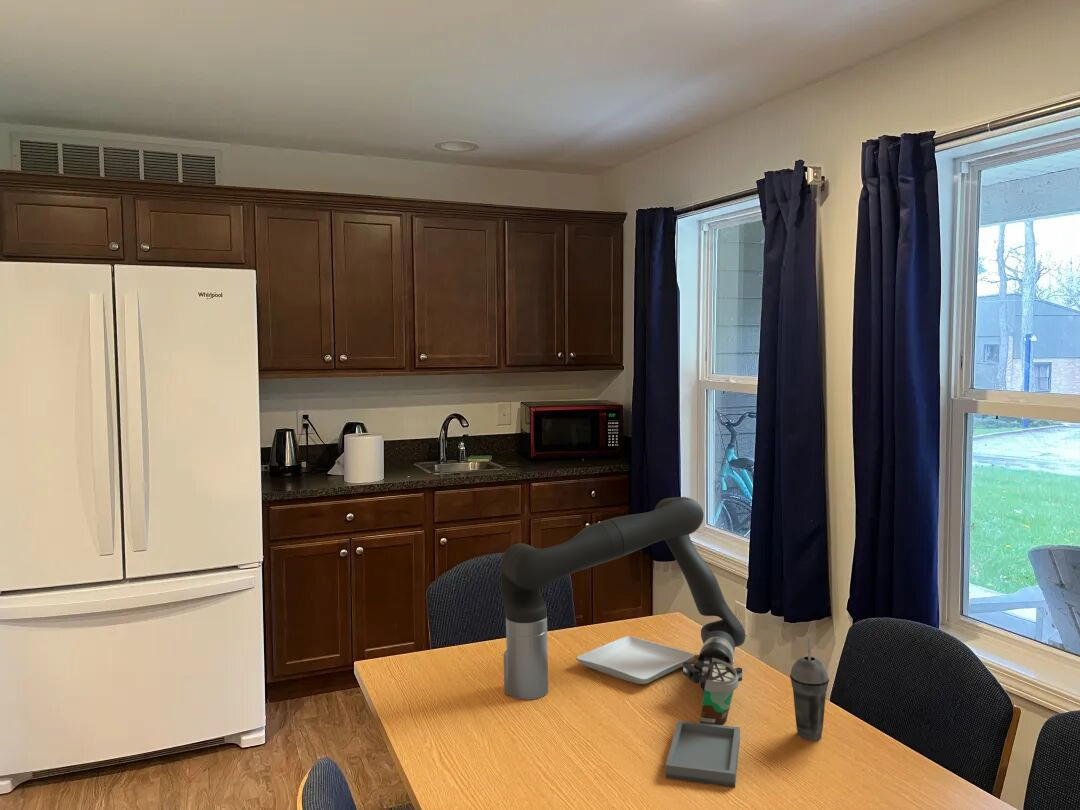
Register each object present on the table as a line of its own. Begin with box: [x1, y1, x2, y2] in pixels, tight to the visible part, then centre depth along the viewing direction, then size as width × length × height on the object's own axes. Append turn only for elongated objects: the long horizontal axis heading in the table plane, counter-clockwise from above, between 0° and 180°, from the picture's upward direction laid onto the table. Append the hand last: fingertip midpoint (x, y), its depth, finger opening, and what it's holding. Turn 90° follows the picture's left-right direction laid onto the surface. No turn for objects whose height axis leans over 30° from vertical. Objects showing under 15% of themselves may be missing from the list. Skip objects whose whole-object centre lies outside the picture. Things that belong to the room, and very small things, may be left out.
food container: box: [699, 658, 739, 725], centre depth 163 cm, size 12×6×10 cm, turn 161°
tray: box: [665, 720, 741, 788], centre depth 148 cm, size 12×18×2 cm, turn 163°
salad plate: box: [576, 635, 696, 685], centre depth 192 cm, size 21×21×3 cm
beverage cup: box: [789, 636, 830, 742], centre depth 155 cm, size 7×7×20 cm
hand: (708, 687), depth 164 cm, fingers closed on food container, 1 cm apart
